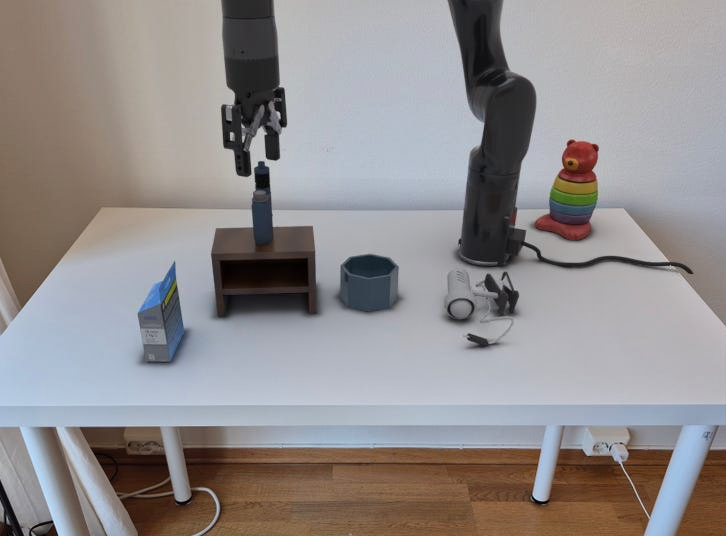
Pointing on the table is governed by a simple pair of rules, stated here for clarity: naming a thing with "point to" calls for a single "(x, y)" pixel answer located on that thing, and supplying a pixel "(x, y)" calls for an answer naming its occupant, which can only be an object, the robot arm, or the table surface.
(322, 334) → the table surface
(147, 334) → the blue cardboard box
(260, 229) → the vaping device
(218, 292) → the block
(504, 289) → the clip-on lamp
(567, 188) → the stacking bear
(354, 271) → the pen pot
